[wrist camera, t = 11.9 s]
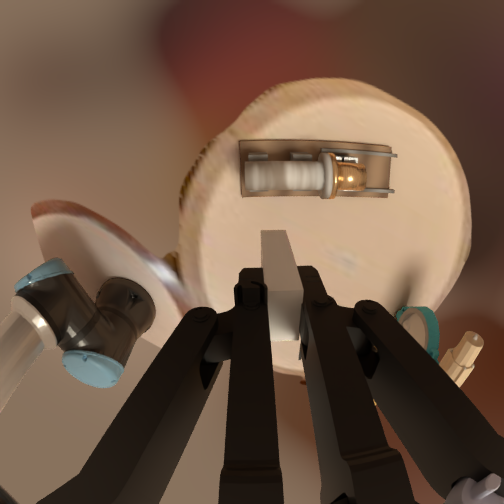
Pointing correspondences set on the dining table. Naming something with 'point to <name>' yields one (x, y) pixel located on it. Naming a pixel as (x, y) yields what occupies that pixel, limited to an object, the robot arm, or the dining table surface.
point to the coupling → (347, 174)
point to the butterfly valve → (427, 335)
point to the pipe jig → (309, 168)
